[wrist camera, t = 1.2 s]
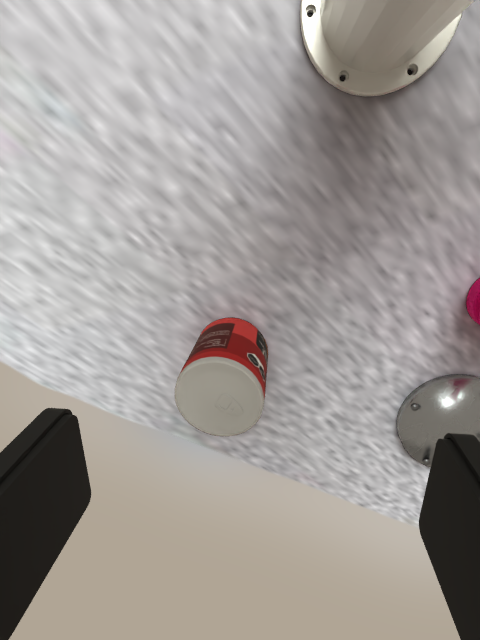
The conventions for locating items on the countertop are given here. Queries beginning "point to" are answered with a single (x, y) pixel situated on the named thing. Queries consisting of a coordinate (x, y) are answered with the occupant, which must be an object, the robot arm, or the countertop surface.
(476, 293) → the pepper mill
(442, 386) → the grey metal disc
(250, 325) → the canned food
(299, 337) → the countertop surface
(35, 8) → the countertop surface
